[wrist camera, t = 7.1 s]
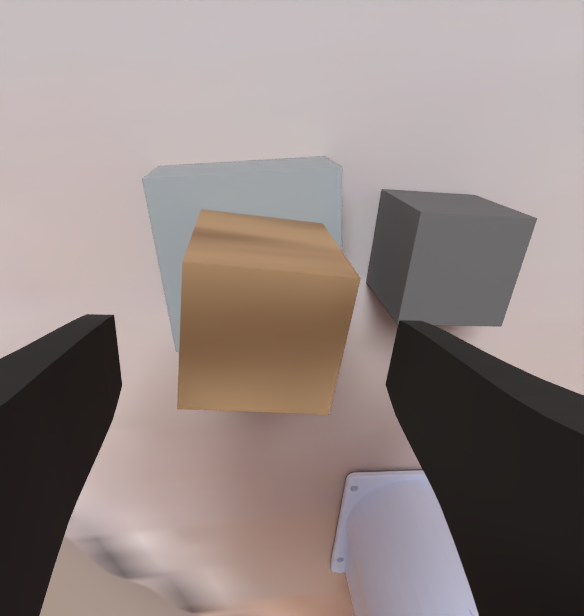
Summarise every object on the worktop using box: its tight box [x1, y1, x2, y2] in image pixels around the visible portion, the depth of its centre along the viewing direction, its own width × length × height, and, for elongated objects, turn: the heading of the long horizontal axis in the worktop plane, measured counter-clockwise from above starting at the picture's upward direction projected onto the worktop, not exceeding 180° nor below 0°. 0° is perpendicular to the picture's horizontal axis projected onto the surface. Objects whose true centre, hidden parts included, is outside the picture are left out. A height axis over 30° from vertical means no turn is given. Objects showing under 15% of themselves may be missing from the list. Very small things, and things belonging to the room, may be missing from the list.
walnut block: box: [177, 209, 361, 415], centre depth 14 cm, size 4×4×6 cm
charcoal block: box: [367, 189, 537, 326], centre depth 18 cm, size 4×4×4 cm
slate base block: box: [142, 156, 342, 352], centre depth 18 cm, size 7×7×4 cm
